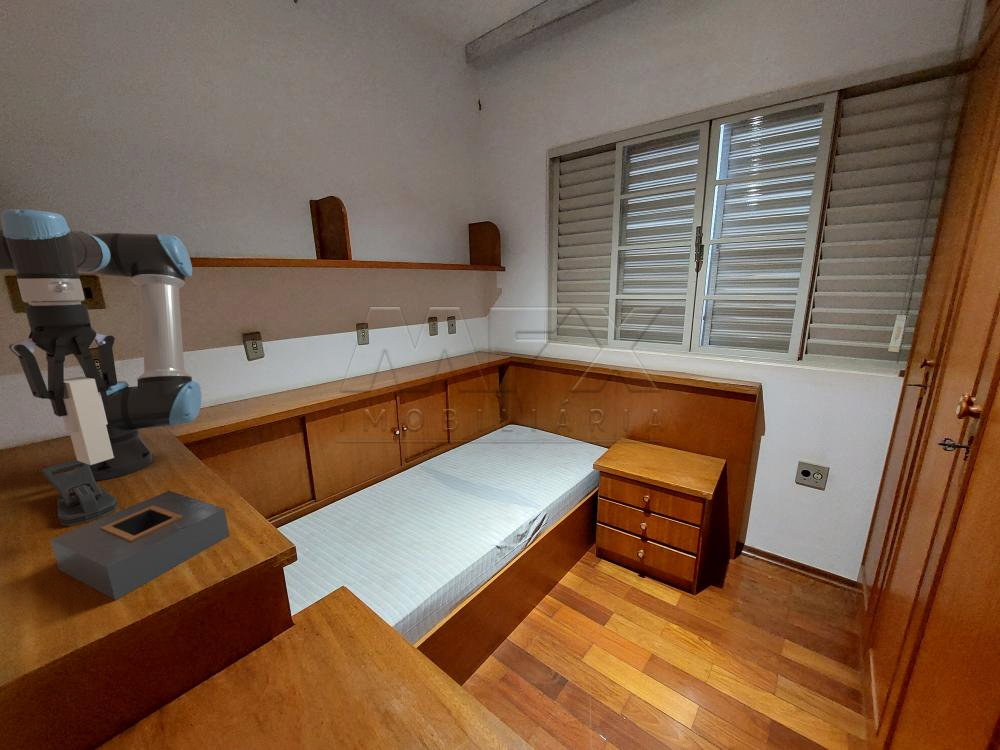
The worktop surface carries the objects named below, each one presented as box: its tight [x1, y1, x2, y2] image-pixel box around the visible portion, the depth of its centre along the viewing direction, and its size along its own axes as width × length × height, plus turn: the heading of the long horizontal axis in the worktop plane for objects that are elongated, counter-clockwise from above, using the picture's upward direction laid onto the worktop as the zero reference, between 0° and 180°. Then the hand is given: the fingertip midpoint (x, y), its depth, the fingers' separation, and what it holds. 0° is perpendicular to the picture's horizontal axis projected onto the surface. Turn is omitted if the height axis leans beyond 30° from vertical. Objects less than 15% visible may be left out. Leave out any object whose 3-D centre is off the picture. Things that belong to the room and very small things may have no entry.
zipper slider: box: [40, 459, 119, 528], centre depth 91 cm, size 9×7×25 cm
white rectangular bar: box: [64, 376, 114, 465], centre depth 76 cm, size 5×4×16 cm
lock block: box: [50, 490, 230, 601], centre depth 74 cm, size 18×18×6 cm
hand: (87, 427), depth 76 cm, fingers closed on white rectangular bar, 3 cm apart
